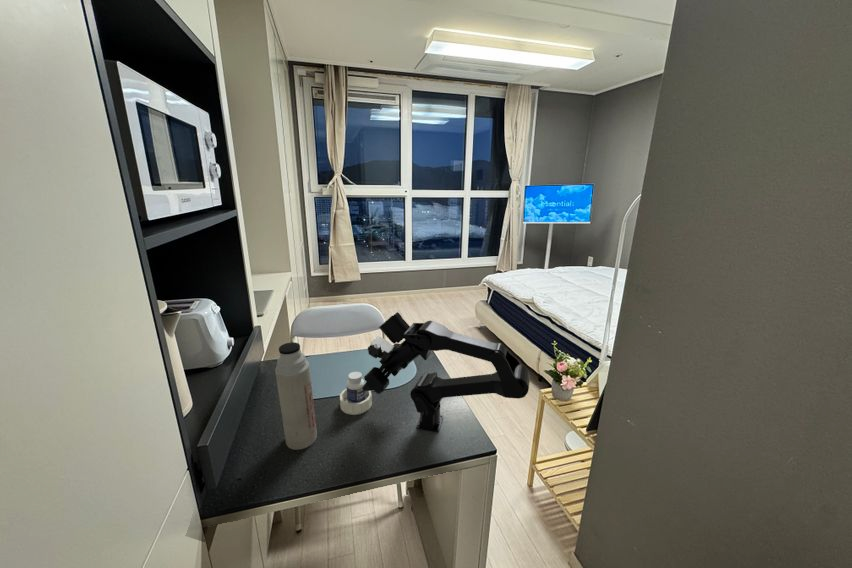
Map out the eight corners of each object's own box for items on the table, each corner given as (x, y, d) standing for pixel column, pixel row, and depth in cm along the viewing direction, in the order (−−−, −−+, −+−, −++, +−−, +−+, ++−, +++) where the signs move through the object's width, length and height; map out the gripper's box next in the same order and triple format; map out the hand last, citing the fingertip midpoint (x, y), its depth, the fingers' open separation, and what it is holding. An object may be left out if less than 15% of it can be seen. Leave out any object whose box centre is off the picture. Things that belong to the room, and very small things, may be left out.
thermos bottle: (322, 430, 97) (312, 340, 88) (307, 452, 90) (295, 356, 81) (296, 426, 98) (284, 337, 90) (279, 447, 91) (264, 352, 82)
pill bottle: (359, 410, 104) (357, 382, 101) (344, 405, 106) (342, 377, 103) (368, 399, 109) (367, 372, 106) (354, 395, 111) (352, 368, 108)
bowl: (364, 417, 102) (363, 407, 101) (334, 411, 104) (333, 401, 103) (376, 397, 111) (376, 388, 110) (349, 392, 113) (348, 383, 112)
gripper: (398, 318, 104) (368, 345, 111) (369, 347, 87) (335, 377, 94) (423, 346, 104) (391, 371, 111) (398, 380, 87) (362, 407, 94)
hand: (371, 380), depth 103 cm, fingers open, 9 cm apart
